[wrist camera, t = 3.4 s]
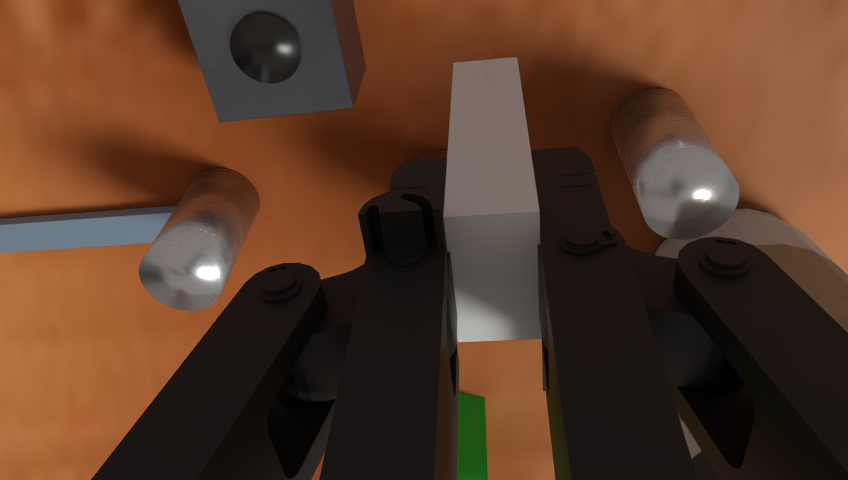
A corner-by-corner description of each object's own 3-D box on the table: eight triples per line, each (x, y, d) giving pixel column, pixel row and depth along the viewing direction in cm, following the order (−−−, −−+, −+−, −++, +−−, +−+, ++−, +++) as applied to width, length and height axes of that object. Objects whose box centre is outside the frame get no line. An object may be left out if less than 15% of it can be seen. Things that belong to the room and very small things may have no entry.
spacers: (202, 228, 32) (155, 312, 27) (16, -273, 21) (-120, -283, 16) (680, 195, 30) (723, 280, 25) (754, -389, 19) (857, -442, 14)
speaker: (248, 80, 28) (218, 124, 24) (209, -47, 25) (168, -17, 21) (366, 66, 27) (352, 110, 24) (340, -66, 24) (320, -38, 21)
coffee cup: (559, 314, 34) (612, 621, 22) (691, 127, 28) (868, 414, 16) (747, 378, 36) (891, 692, 24) (909, 217, 30) (1217, 533, 18)
